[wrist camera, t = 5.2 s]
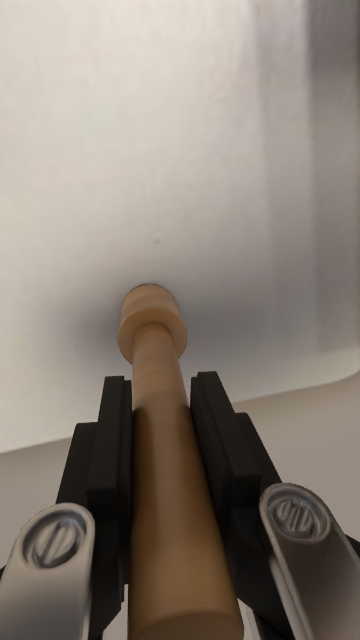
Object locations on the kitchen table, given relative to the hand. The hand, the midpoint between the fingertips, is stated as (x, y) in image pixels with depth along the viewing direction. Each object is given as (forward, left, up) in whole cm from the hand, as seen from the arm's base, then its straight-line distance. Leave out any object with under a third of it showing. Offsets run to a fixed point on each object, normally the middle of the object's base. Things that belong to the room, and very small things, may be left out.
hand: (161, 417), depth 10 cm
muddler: (0, 0, -10) cm, 10 cm away
